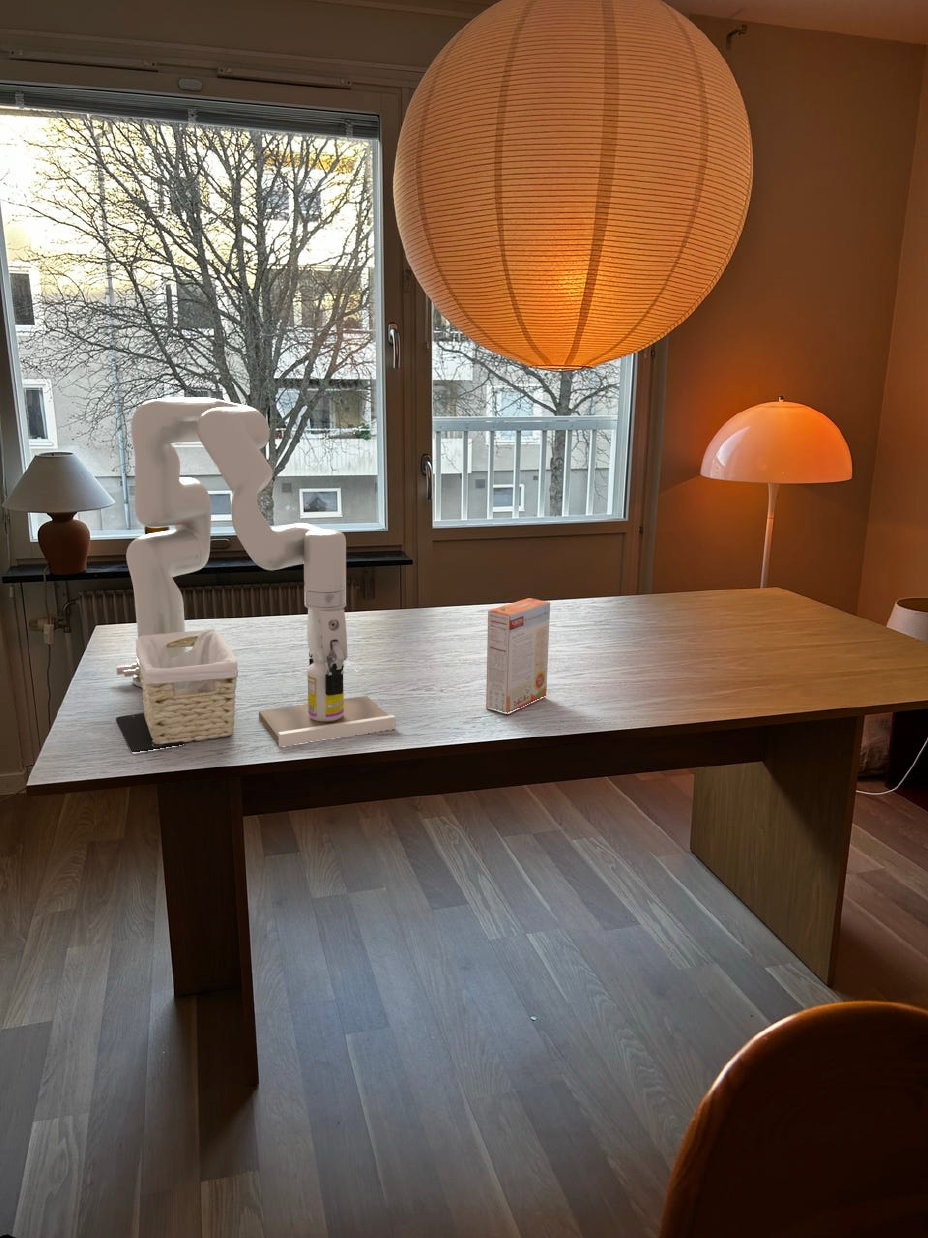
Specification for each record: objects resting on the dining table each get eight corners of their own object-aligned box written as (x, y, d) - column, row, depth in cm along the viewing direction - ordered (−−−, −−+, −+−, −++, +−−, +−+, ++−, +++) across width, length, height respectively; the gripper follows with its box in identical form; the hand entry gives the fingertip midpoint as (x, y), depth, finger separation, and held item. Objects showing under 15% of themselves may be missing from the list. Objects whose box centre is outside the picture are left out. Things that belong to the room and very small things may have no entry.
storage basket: (138, 705, 177) (133, 633, 173) (222, 695, 183) (219, 626, 179) (148, 751, 156) (143, 671, 152) (243, 739, 162) (240, 662, 158)
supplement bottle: (348, 712, 172) (348, 648, 169) (337, 724, 166) (336, 658, 162) (315, 708, 173) (314, 645, 170) (302, 721, 167) (301, 655, 164)
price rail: (280, 747, 159) (280, 734, 158) (278, 745, 160) (278, 732, 159) (395, 729, 168) (395, 717, 168) (392, 727, 169) (393, 714, 169)
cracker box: (523, 691, 191) (528, 596, 185) (547, 698, 187) (552, 601, 181) (483, 709, 180) (486, 608, 174) (507, 716, 176) (511, 614, 171)
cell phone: (132, 756, 154) (132, 751, 154) (115, 721, 169) (115, 716, 169) (185, 747, 159) (184, 743, 158) (164, 714, 174) (163, 709, 173)
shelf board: (278, 745, 160) (278, 737, 159) (259, 718, 172) (258, 711, 171) (392, 727, 169) (393, 719, 169) (366, 702, 181) (366, 695, 181)
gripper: (361, 607, 157) (360, 698, 162) (329, 585, 172) (330, 669, 177) (320, 611, 154) (320, 704, 159) (291, 588, 169) (293, 674, 174)
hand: (325, 685), depth 168 cm, fingers open, 9 cm apart
